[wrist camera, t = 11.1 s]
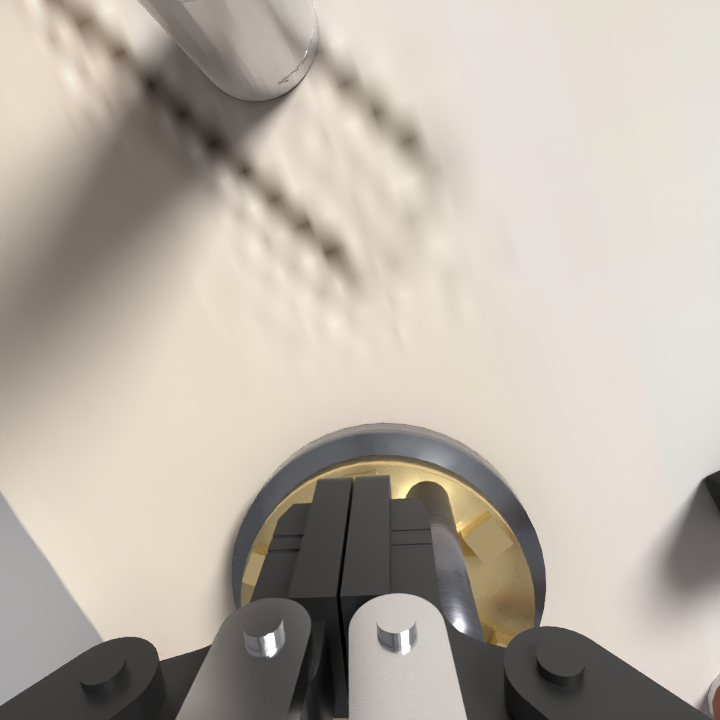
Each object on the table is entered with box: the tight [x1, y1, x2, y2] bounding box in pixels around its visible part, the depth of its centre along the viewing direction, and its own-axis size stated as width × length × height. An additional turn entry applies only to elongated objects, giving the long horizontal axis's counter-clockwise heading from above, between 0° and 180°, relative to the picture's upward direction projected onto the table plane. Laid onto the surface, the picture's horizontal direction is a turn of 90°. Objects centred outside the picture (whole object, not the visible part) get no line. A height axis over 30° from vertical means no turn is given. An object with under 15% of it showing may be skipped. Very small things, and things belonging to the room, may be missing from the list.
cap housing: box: [232, 423, 546, 628], centre depth 43 cm, size 24×24×3 cm
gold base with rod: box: [241, 455, 535, 720], centre depth 32 cm, size 21×21×18 cm
